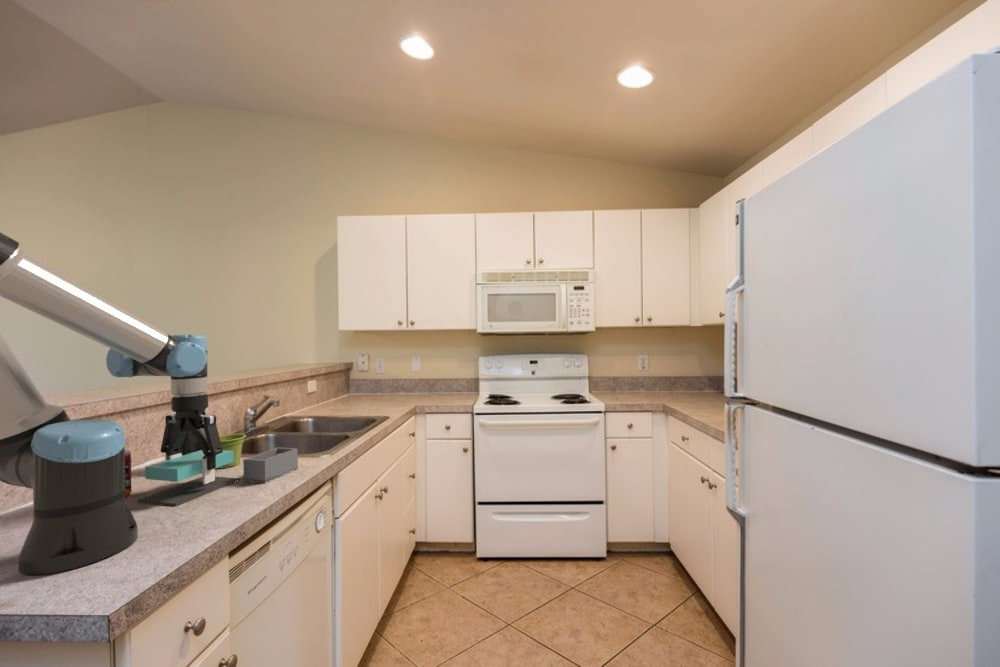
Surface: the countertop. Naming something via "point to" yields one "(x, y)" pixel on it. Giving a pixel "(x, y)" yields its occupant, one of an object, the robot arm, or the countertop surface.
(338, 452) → the countertop surface
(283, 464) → the storage box
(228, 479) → the mat
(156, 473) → the lid
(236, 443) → the plant pot
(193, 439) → the black egg-shaped piece
